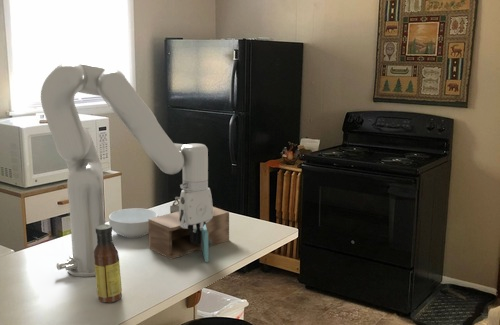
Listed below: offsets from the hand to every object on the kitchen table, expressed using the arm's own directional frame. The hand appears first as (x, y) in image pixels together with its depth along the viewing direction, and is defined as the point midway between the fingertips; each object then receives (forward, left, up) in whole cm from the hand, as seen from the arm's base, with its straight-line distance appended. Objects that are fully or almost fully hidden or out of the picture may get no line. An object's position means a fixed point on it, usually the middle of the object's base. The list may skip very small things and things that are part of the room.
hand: (195, 243), depth 172 cm
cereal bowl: (-1, +33, -6) cm, 33 cm away
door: (+5, 0, -5) cm, 7 cm away
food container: (+15, +27, -6) cm, 31 cm away
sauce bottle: (-33, -5, -6) cm, 34 cm away
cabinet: (+7, +12, -6) cm, 15 cm away
